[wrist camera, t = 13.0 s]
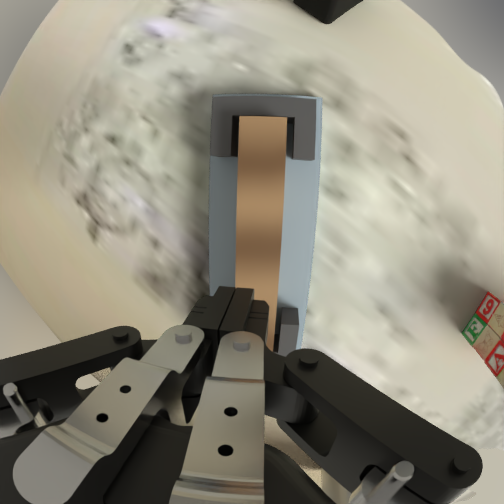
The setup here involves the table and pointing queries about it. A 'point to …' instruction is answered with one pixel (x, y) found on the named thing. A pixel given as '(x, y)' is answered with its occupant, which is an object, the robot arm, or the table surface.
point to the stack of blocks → (488, 334)
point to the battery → (327, 8)
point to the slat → (260, 209)
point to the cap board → (294, 210)
